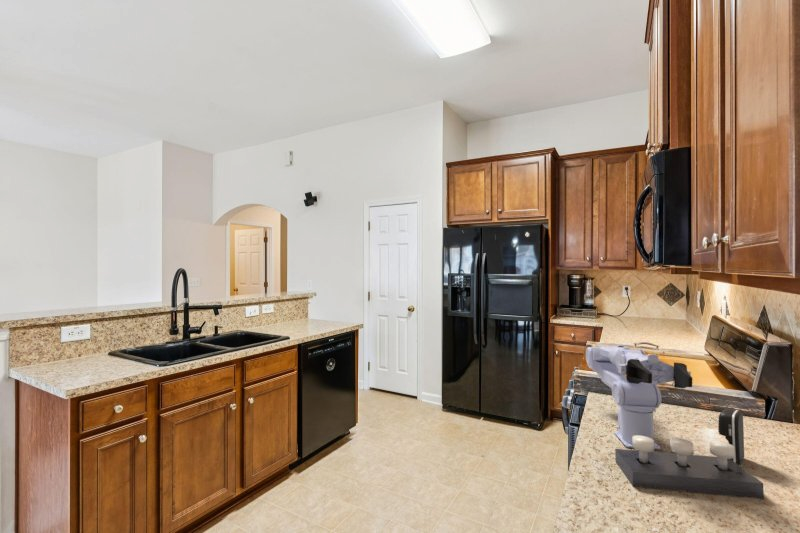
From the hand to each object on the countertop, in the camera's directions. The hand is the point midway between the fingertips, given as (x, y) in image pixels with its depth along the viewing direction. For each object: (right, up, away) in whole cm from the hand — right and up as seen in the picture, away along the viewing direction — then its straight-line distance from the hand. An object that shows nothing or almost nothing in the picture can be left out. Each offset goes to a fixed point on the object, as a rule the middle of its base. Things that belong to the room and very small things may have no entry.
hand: (670, 380), depth 83 cm
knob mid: (+3, -18, 0) cm, 19 cm away
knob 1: (-4, -18, +2) cm, 19 cm away
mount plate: (+3, -21, 0) cm, 21 cm away
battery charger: (+21, -21, +9) cm, 31 cm away
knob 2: (+10, -18, -1) cm, 21 cm away
